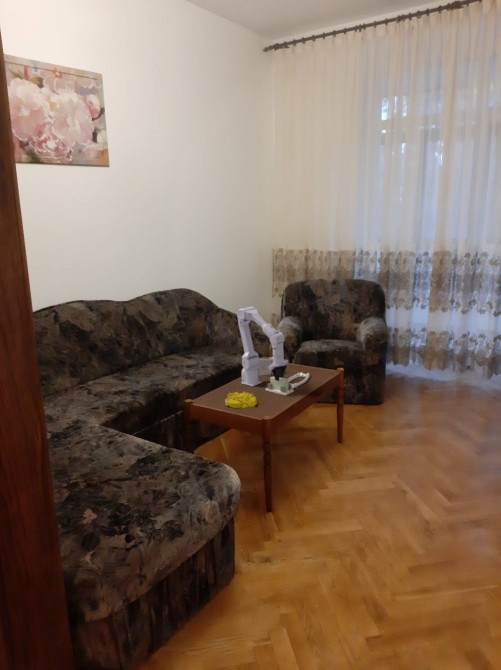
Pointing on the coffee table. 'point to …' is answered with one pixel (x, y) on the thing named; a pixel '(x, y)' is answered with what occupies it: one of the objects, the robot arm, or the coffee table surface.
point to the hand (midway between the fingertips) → (279, 379)
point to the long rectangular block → (279, 383)
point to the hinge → (265, 366)
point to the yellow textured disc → (240, 400)
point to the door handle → (299, 382)
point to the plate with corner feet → (280, 390)
